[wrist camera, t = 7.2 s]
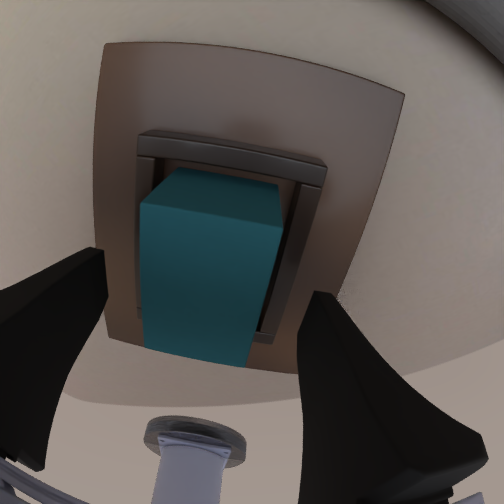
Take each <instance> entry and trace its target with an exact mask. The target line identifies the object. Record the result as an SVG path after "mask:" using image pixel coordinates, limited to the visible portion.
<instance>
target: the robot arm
mask: <svg viewBox="0 0 504 504" xmlns="http://www.w3.org/2000/svg"><path fill="white" fill-rule="evenodd" d="M108 297H109V294H108V285H107V276H106V266H105V254H104V250H102V249H97V248H92V247H88V248H86V249H83V250H81V251H79V252H77V253H75V254H73V255H71V256H69V257H67V258H65V259H63V260H61V261H59V262H57V263H55V264H53V265H52V266H50V267H48V268H46V269H44V270H42V271H40V272H38V273H36V274H34V275H32V276H30V277H28V278H26V279H24V280H22V281H20V282H18V283H16V284H14V285H12V286H10V287H7V288H5V289H3V290H0V504H30V503H28V502H26V501H24V500H22V499H21V498H19V497H17V496H16V494H15V491H14V489H13V487H15V488H17V489H18V490H20V491H21V492H23V493H25V494H26V495H28V496H30V497H32V498H33V499H35V500H37V501H39V502H41V503H42V504H89V503H87V502H84V501H82V500H79V499H77V498H75V497H72V496H70V495H68V494H66V493H63V492H62V491H59V490H57V489H55V488H53V487H51V486H49V485H47V484H45V483H43V482H42V481H40V480H38V479H36V478H34V477H32V476H31V475H28V474H27V473H25V472H24V471H22V470H20V469H19V468H17V467H15V466H14V465H12V464H10V463H9V462H7V461H6V460H5V459H6V457H7V458H8V459H10V460H12V461H13V462H16V461H18V462H20V463H21V464H23V465H25V466H27V467H28V468H30V469H32V470H34V471H35V472H38V471H42V470H43V469H44V468H45V459H46V451H47V446H48V440H49V435H50V431H51V427H52V422H53V418H54V415H55V411H56V408H57V405H58V402H59V398H60V395H61V393H62V390H63V387H64V384H65V382H66V379H67V377H68V374H69V372H70V370H71V368H72V366H73V364H74V362H75V360H76V359H77V357H78V355H79V353H80V352H81V350H82V348H83V346H84V345H85V343H86V341H87V339H88V338H89V336H90V334H91V332H92V331H93V329H94V327H95V326H96V324H97V322H98V320H99V318H100V316H101V314H102V312H103V309H104V307H105V305H106V302H107V300H108ZM297 367H298V376H299V385H300V394H301V403H302V412H303V454H302V470H301V483H300V492H299V499H298V504H449V502H448V498H450V497H452V496H453V494H454V493H453V489H452V486H453V485H455V484H457V483H459V482H460V481H462V480H463V479H465V478H467V477H468V476H470V475H472V474H473V473H475V472H476V471H477V470H479V469H480V468H481V467H483V466H484V465H485V463H486V462H487V461H488V459H489V458H488V455H487V452H486V448H485V445H484V442H483V439H482V436H481V435H480V434H479V433H477V432H476V431H474V430H472V429H470V428H469V427H467V426H465V425H463V424H461V423H459V422H458V421H456V420H455V419H453V418H451V417H450V416H449V415H447V414H446V413H444V412H443V411H441V410H440V409H439V408H437V407H436V406H435V405H433V404H432V403H431V402H429V401H428V400H427V399H426V398H424V397H423V396H422V395H421V394H419V393H418V392H417V391H416V390H415V389H414V388H412V387H411V386H410V385H409V384H408V383H407V382H406V381H405V380H404V379H403V378H402V377H401V376H400V375H399V374H398V373H397V372H396V371H395V370H394V369H393V368H392V367H391V366H390V365H389V364H388V363H387V362H386V361H385V360H384V359H383V358H382V356H381V355H380V354H379V353H378V352H377V351H376V350H375V348H374V347H373V346H372V345H371V344H370V342H369V341H368V340H367V339H366V337H365V336H364V335H363V334H362V332H361V331H360V330H359V329H358V327H357V326H356V325H355V323H354V322H353V321H352V319H351V318H350V317H349V315H348V314H347V313H346V311H345V310H344V309H343V307H342V306H341V305H340V303H339V302H338V301H337V299H336V298H335V297H334V296H333V295H332V293H328V292H322V291H316V290H314V292H313V294H312V297H311V300H310V302H309V305H308V307H307V310H306V312H305V315H304V318H303V320H302V323H301V325H300V328H299V330H298V332H297ZM158 442H159V447H160V452H161V460H160V465H159V469H158V473H157V478H156V483H155V488H154V492H153V497H152V502H151V504H219V502H220V492H221V483H222V473H223V470H224V468H225V465H226V463H227V460H228V458H229V456H230V453H231V448H229V447H224V446H217V445H211V444H205V443H199V442H194V441H189V440H184V439H179V438H175V437H170V436H166V435H161V434H160V435H158ZM11 485H12V486H13V487H12V486H11ZM453 504H484V500H483V496H482V493H481V492H478V493H476V494H474V495H471V496H469V497H467V498H465V499H462V500H460V501H458V502H455V503H453Z"/></svg>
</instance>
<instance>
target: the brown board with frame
mask: <svg viewBox="0 0 504 504" xmlns="http://www.w3.org/2000/svg"><path fill="white" fill-rule="evenodd" d="M404 97H405V94H404V93H402V92H399V91H397V90H395V89H392V88H390V87H387V86H384V85H382V84H379V83H376V82H374V81H371V80H368V79H365V78H362V77H359V76H356V75H353V74H350V73H347V72H344V71H341V70H337V69H334V68H331V67H327V66H323V65H320V64H316V63H312V62H308V61H304V60H300V59H296V58H291V57H287V56H282V55H277V54H272V53H267V52H261V51H255V50H249V49H242V48H235V47H227V46H219V45H209V44H197V43H181V42H120V43H106V44H105V45H104V50H103V56H102V62H101V69H100V76H99V83H98V92H97V101H96V112H95V126H94V144H93V209H94V228H95V242H96V248H97V249H102V250H104V254H105V266H106V276H107V285H108V294H109V297H108V300H107V302H106V305H105V307H104V314H105V320H106V325H107V331H108V336H109V338H112V339H116V340H119V341H123V342H126V343H130V344H134V345H138V346H142V347H144V337H143V324H142V309H141V290H140V203H141V202H142V201H143V200H144V199H145V198H146V197H147V196H148V195H149V194H150V193H151V192H152V191H153V190H154V189H155V188H156V187H157V186H158V185H159V184H160V183H161V182H163V181H164V180H165V179H166V178H167V177H168V176H169V175H170V174H171V173H172V172H173V171H174V170H176V169H177V168H178V167H181V168H188V169H195V170H201V171H207V172H213V173H219V174H225V175H230V176H236V177H241V178H247V179H252V180H257V181H262V182H267V183H272V184H277V185H278V188H279V197H280V205H281V214H282V223H283V233H282V236H281V240H280V244H279V248H278V252H277V255H276V259H275V263H274V266H273V270H272V274H271V277H270V281H269V285H268V288H267V292H266V296H265V299H264V303H263V306H262V310H261V314H260V317H259V321H258V324H257V328H256V331H255V335H254V338H253V342H252V345H251V349H250V352H249V356H248V359H247V362H246V366H245V368H251V369H258V370H266V371H273V372H282V373H290V374H298V367H297V332H298V330H299V328H300V325H301V323H302V320H303V318H304V315H305V312H306V310H307V307H308V305H309V302H310V300H311V297H312V294H313V292H314V290H316V291H322V292H328V293H332V295H333V296H334V297H335V298H337V295H338V293H339V291H340V288H341V286H342V284H343V281H344V279H345V276H346V274H347V272H348V269H349V267H350V264H351V262H352V259H353V257H354V254H355V252H356V249H357V247H358V244H359V241H360V239H361V236H362V233H363V231H364V228H365V225H366V223H367V220H368V217H369V214H370V211H371V209H372V206H373V203H374V200H375V197H376V194H377V191H378V188H379V185H380V182H381V179H382V176H383V172H384V169H385V166H386V163H387V160H388V156H389V153H390V149H391V146H392V143H393V139H394V135H395V132H396V128H397V124H398V121H399V117H400V113H401V109H402V105H403V101H404Z"/></svg>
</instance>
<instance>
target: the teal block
mask: <svg viewBox="0 0 504 504" xmlns="http://www.w3.org/2000/svg"><path fill="white" fill-rule="evenodd" d="M282 233H283V223H282V214H281V205H280V197H279V188H278V185H277V184H272V183H267V182H262V181H257V180H252V179H247V178H241V177H236V176H230V175H225V174H219V173H213V172H207V171H201V170H195V169H188V168H181V167H178V168H177V169H176V170H174V171H173V172H172V173H171V174H170V175H169V176H168V177H167V178H166V179H165V180H164V181H163V182H161V183H160V184H159V185H158V186H157V187H156V188H155V189H154V190H153V191H152V192H151V193H150V194H149V195H148V196H147V197H146V198H145V199H144V200H143V201H142V202H141V203H140V290H141V309H142V324H143V337H144V347H145V348H148V349H152V350H156V351H160V352H165V353H169V354H173V355H178V356H183V357H187V358H192V359H197V360H202V361H207V362H213V363H218V364H224V365H230V366H236V367H242V368H244V367H245V366H246V362H247V359H248V356H249V352H250V349H251V345H252V342H253V338H254V335H255V331H256V328H257V324H258V321H259V317H260V314H261V310H262V306H263V303H264V299H265V296H266V292H267V288H268V285H269V281H270V277H271V274H272V270H273V266H274V263H275V259H276V255H277V252H278V248H279V244H280V240H281V236H282Z"/></svg>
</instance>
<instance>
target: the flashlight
mask: <svg viewBox="0 0 504 504" xmlns="http://www.w3.org/2000/svg"><path fill="white" fill-rule="evenodd" d="M425 1H426V2H428V3H429V4H431V5H432V6H434V7H435V8H437V9H438V10H440V11H441V12H442V13H444V14H445V15H447V16H448V17H449V18H451V19H452V20H453V21H455V22H456V23H457V24H458V25H460V26H461V27H462V28H464V29H465V30H466V31H467V32H468V33H470V34H471V35H472V36H473V37H474V38H476V39H477V40H478V41H479V42H480V43H481V44H482V45H484V46H485V47H486V48H487V49H488V50H489V51H490V52H491V53H492V54H493V55H494V56H495V57H496V58H497V59H498V60H499V61H501V62H502V63H503V64H504V0H425Z"/></svg>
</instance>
